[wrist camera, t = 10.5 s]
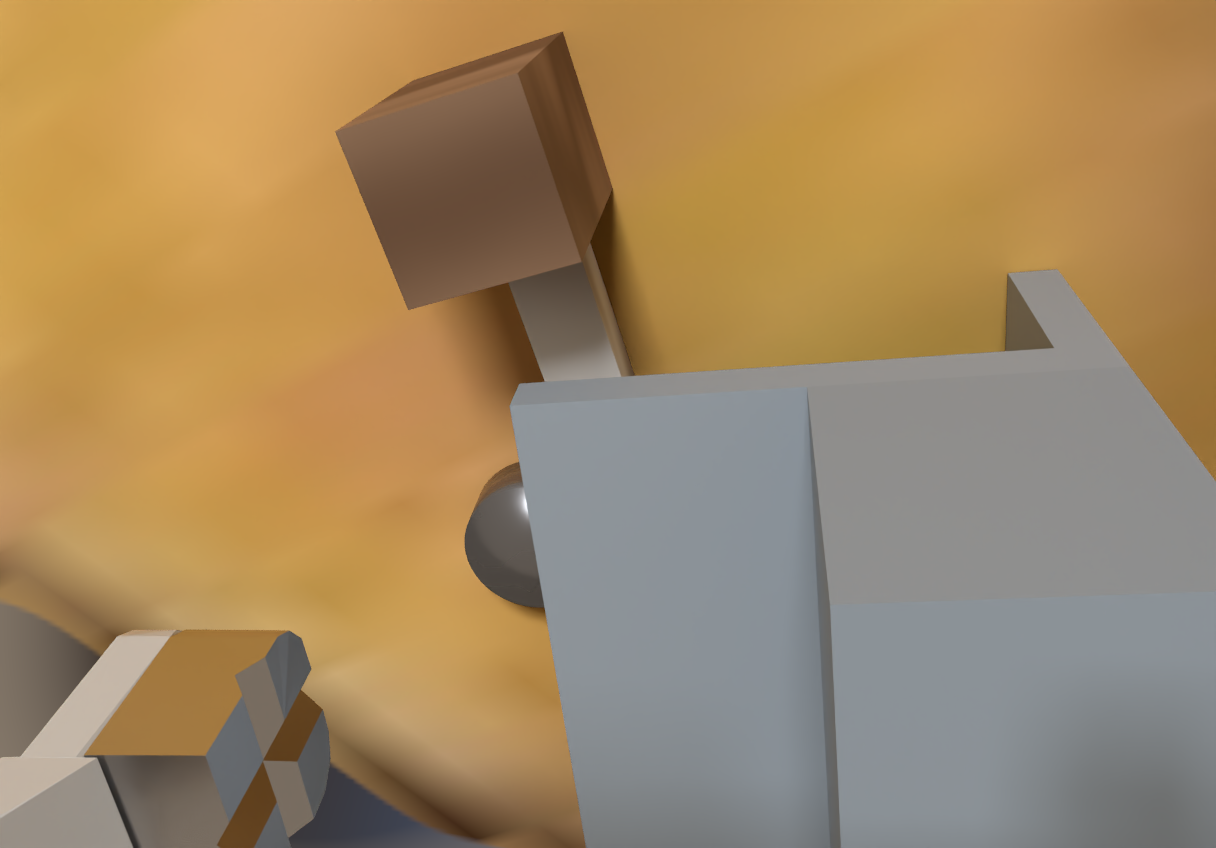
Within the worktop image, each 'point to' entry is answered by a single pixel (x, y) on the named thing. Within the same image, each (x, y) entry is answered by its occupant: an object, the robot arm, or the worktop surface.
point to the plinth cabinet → (882, 598)
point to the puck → (504, 540)
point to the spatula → (496, 198)
